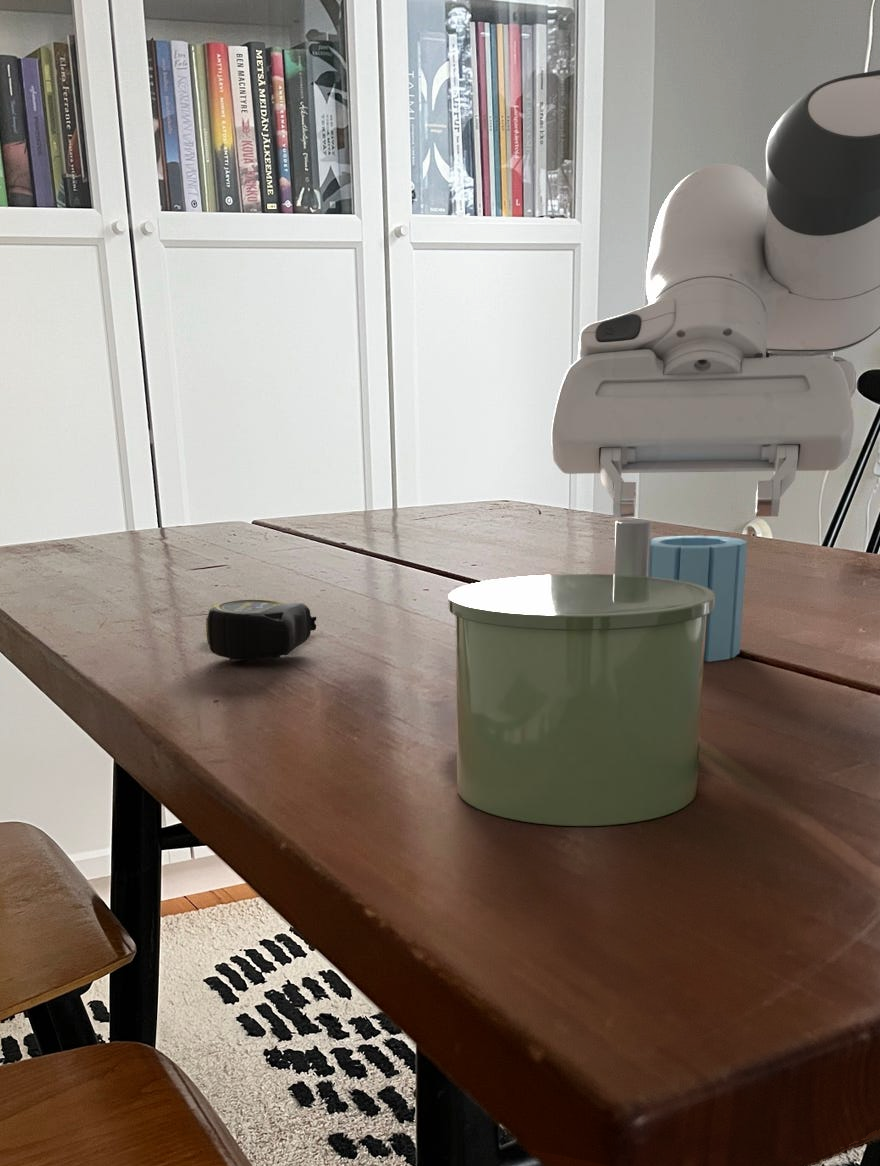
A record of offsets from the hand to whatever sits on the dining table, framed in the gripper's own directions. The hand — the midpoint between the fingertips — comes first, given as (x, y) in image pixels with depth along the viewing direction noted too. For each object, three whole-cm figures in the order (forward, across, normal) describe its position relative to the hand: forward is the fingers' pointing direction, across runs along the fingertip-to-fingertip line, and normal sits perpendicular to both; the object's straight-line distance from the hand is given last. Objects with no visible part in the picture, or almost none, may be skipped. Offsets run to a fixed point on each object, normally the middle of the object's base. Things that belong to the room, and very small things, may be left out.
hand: (694, 511), depth 85 cm
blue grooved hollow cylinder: (+11, 0, -2) cm, 11 cm away
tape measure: (+11, +29, -3) cm, 31 cm away
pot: (+27, +4, +14) cm, 31 cm away
